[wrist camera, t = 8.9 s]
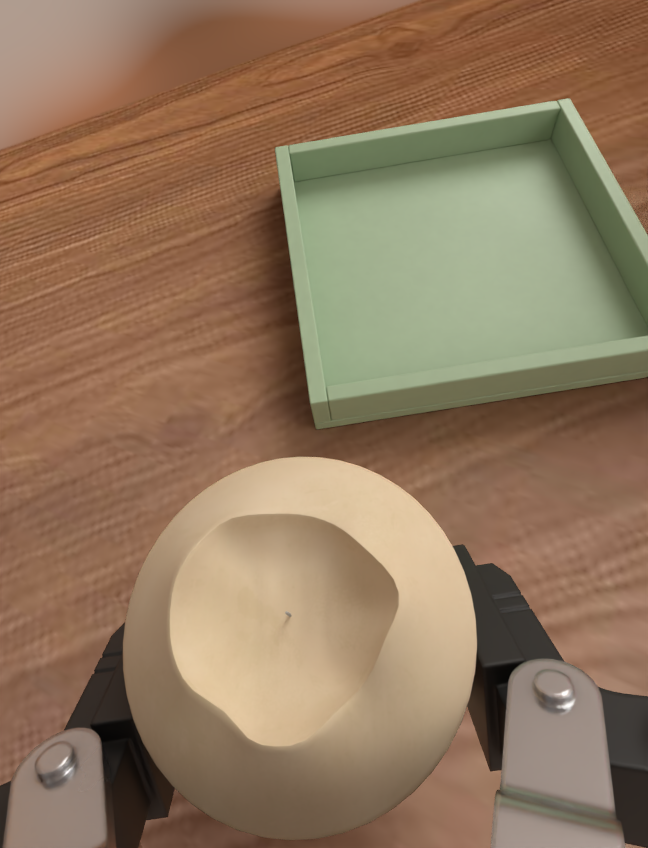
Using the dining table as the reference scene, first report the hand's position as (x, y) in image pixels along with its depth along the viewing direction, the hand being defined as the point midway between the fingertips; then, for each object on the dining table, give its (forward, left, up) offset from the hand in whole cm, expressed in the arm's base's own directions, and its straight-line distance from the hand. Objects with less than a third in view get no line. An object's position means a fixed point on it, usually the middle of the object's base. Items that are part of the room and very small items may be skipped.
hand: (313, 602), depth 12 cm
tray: (+7, +13, -5) cm, 16 cm away
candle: (0, -1, -5) cm, 5 cm away
